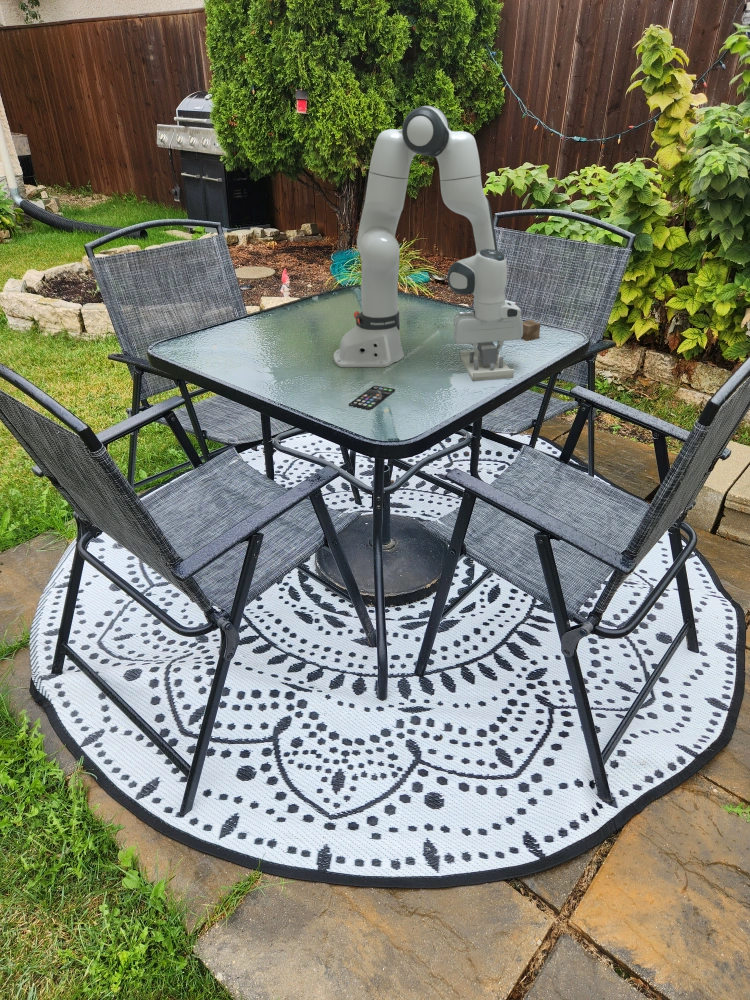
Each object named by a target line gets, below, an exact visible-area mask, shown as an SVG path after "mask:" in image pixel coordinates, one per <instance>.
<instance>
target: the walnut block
mask: <svg viewBox="0 0 750 1000" xmlns="http://www.w3.org/2000/svg"><path fill="white" fill-rule="evenodd" d="M522 321H523V320H522ZM540 332H541V323H540V322H537V321H535V320H533V319H528V320H524V321H523V336H522V337H521V339H520V340H523V341H525V342H529V340H530V341H533V340H538V338H539V339H540V335H541V334H540Z"/></svg>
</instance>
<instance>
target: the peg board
mask: <svg viewBox="0 0 750 1000" xmlns="http://www.w3.org/2000/svg"><path fill="white" fill-rule="evenodd" d="M459 352H460V353H459V354H460V355H459V358H460V359H459V360H460V361H461V363H462V364H463V366H464V368H465V370H466V372H467V373H468V375H469V376H470V379H471V380H472V382H477V381H489V380H492V381H493V380H501V379H504V380H505V379H513V378H514V377H515V376H514V375H515V369H514V368H509V366H508V365H507V363H506V362H505V360H504V359H505V358H504V357H502V356H501V355H500V354H499V355H497V360H496V365H494V363H490V365H484V366H483V365H482V363H481V362H480V360H479V359H478V357H476V356H475V349H473V350H472V349H471V350H460V351H459Z"/></svg>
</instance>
